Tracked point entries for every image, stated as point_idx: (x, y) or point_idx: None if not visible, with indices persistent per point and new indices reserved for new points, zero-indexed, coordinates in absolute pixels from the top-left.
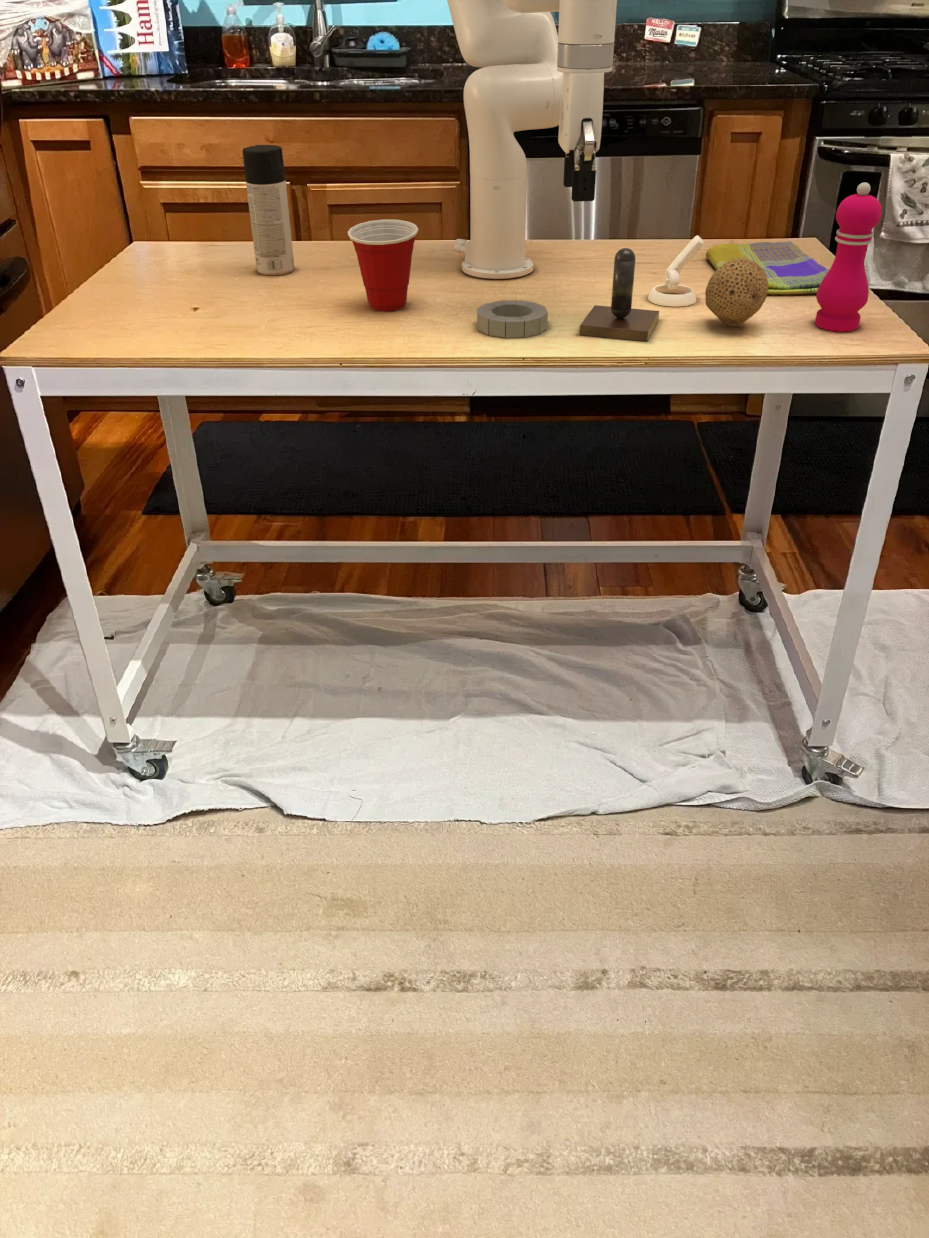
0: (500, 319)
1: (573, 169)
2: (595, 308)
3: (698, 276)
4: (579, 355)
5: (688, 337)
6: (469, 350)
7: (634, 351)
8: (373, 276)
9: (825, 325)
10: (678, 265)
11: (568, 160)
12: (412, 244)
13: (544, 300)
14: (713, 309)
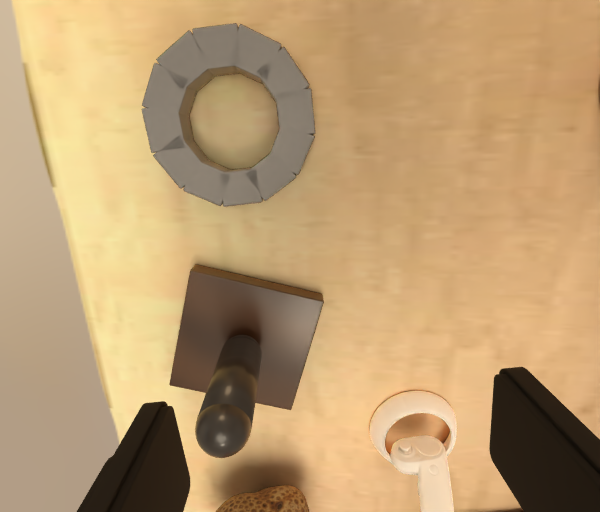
0: (157, 93)
1: (547, 479)
2: (300, 302)
3: None
4: (82, 261)
5: None
6: (61, 26)
7: (122, 352)
8: None
9: None
10: (418, 487)
11: (596, 504)
12: None
13: (424, 195)
14: (231, 498)
